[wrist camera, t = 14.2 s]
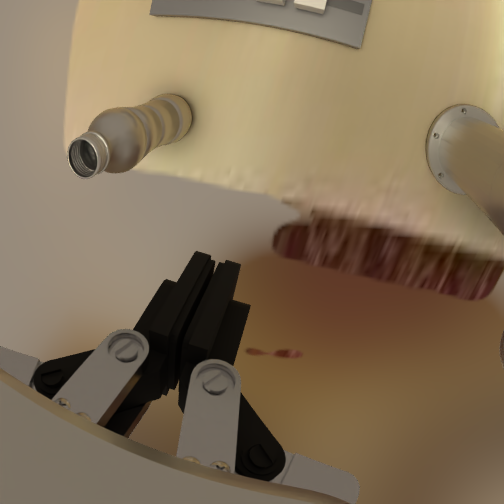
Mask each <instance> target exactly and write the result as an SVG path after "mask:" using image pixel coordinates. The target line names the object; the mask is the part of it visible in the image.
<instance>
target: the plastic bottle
mask: <svg viewBox="0 0 504 504" xmlns="http://www.w3.org/2000/svg"><path fill="white" fill-rule="evenodd" d="M191 121H192V114H191V110H190V108H189V105H188V104H187V103H186V101H185V100H183V99H182V98H181V97H179V96H176V95H171V94H162V95H159V96H157V97H155V98H153V99H152V100H150V101H149V102H147V103H145V104H143V105H140V106H134V107H117V108H112V109H107V110H105V111H103V112H102V113H100V114H99V115H98V116H97V117H96V118H95V119H94V120H93V121H92V123H91V125H90V126H89V129H88V132H86V133H84V134H82V135H81V136H80V137H78V138H76V139H74V140H73V141H72V142H71V144H70V145H69V147H68V152H67V159H68V163H69V166H70V168H71V170H72V171H73V173H74V174H75V175H77V176H78V177H80V178H82V179H89V178H92V177H93V176H95V175H96V174H100V173H101V172H103V171H105V172H108V173H123V172H126V171H129V170H130V169H132V168H133V167H134V166H136V165H137V164H138V163H139V162H140V161H141V160H142V159H143V158H144V157H145V156H146V155H147V154H148V153H149V152H151V151H152V150H153V149H155V148H156V147H159V146H162V145H167V144H171V143H175V142H177V141H179V140H180V139H181V138H182V137H183V136H184V135H185V134H186V133H187V131H188V130H189V128H190V125H191Z"/></svg>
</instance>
